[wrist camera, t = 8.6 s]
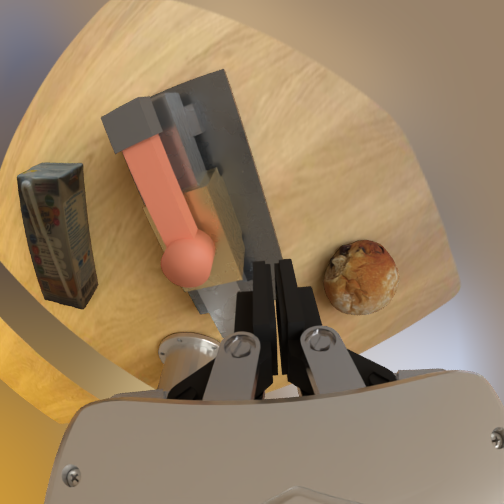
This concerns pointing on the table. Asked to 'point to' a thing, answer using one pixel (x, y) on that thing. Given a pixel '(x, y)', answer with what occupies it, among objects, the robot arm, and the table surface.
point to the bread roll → (361, 278)
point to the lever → (160, 192)
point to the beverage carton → (58, 231)
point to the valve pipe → (217, 189)
